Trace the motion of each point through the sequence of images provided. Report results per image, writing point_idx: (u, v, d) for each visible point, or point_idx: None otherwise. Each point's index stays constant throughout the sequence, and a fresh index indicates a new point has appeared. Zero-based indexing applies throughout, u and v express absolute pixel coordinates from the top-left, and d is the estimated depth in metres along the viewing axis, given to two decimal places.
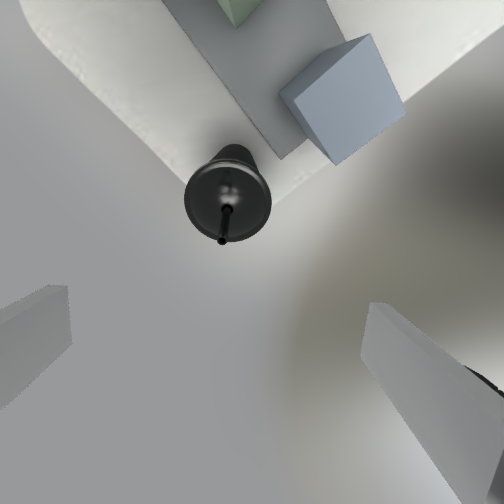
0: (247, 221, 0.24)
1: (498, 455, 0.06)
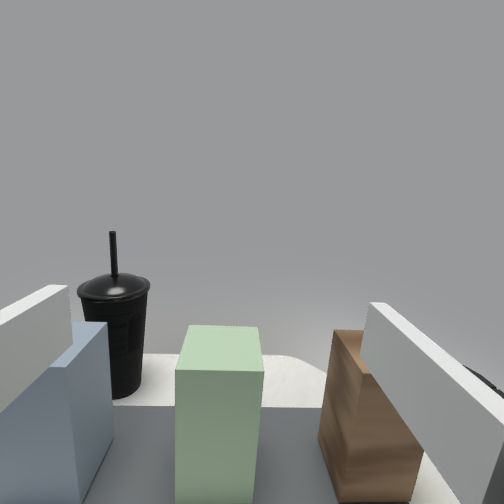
0: (94, 279, 0.31)
1: (496, 454, 0.06)
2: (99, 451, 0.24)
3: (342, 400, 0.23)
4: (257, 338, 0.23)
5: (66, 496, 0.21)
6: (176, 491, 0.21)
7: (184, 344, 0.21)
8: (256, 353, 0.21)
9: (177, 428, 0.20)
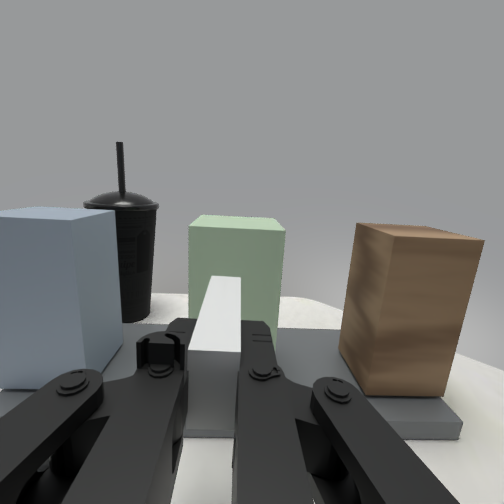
0: (101, 194, 0.30)
1: (212, 372, 0.08)
2: (107, 346, 0.22)
3: (368, 286, 0.21)
4: (275, 221, 0.21)
5: None
6: None
7: (197, 219, 0.20)
8: (275, 225, 0.19)
9: (191, 298, 0.18)
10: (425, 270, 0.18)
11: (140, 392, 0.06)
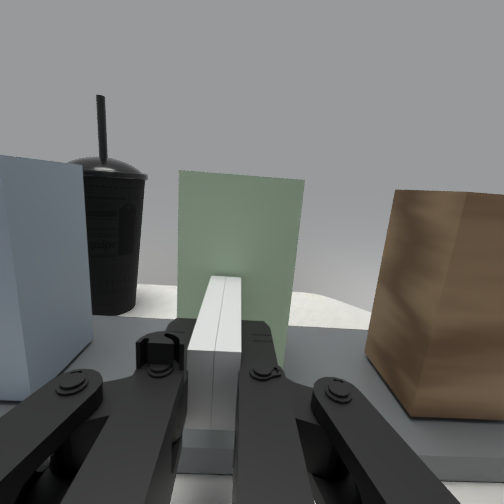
0: None
1: (213, 372, 0.08)
2: (68, 342, 0.17)
3: (416, 269, 0.15)
4: None
5: (10, 384, 0.14)
6: None
7: None
8: None
9: (181, 267, 0.14)
10: None
11: (139, 392, 0.06)
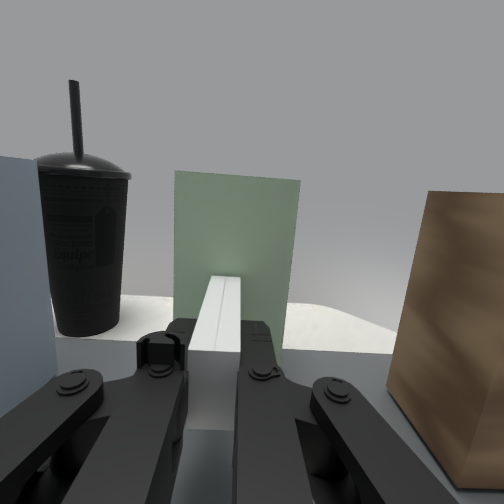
0: None
1: (212, 372, 0.08)
2: (18, 384, 0.13)
3: (463, 294, 0.12)
4: None
5: None
6: None
7: None
8: None
9: (177, 268, 0.14)
10: None
11: (140, 392, 0.06)
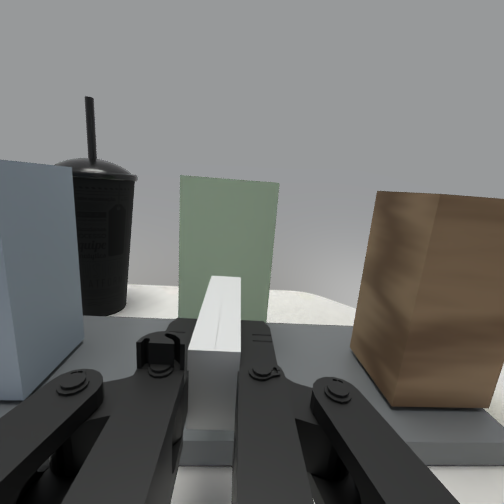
0: None
1: (212, 372, 0.08)
2: (59, 342, 0.17)
3: (396, 266, 0.16)
4: None
5: (2, 384, 0.14)
6: None
7: None
8: None
9: (182, 253, 0.18)
10: (477, 241, 0.14)
11: (140, 392, 0.06)
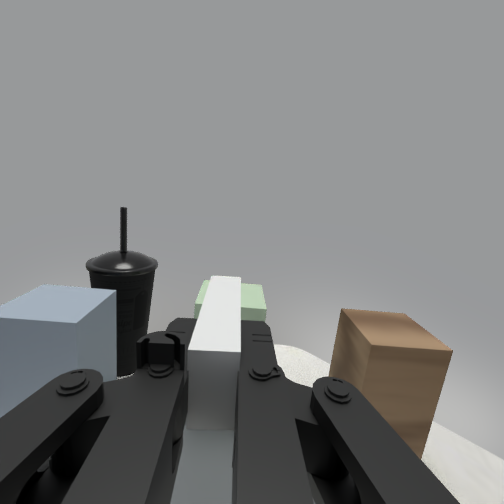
0: (103, 254, 0.32)
1: (212, 372, 0.08)
2: None
3: (348, 376, 0.22)
4: (261, 291, 0.27)
5: None
6: None
7: (201, 290, 0.26)
8: (260, 299, 0.25)
9: None
10: (399, 374, 0.20)
11: (140, 392, 0.06)
